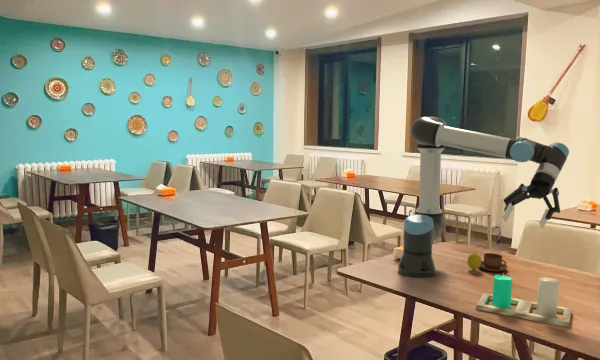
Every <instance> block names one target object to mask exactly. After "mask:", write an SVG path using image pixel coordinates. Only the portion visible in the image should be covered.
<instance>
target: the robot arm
mask: <svg viewBox="0 0 600 360" xmlns="http://www.w3.org/2000/svg"><path fill="white" fill-rule="evenodd" d="M410 135H411V138H412V140H413V141H414V142H416V149H417V150H418V152H420V159H419V160H420V161H419V162H420V163H419V164H420V165H419V191H418V192H419V195H418V196H419V198H418V200H419V201H418V207H417V208H415V212H414V213H415V214H414V215H409V216H406V218H405V219H404V224H403V248H402V255H401V258H400V260H399V262H398V263H399V264H398V266H397V269H398V273H400V275H403V276H406V277H412V278H430V277H431V278H432V277H433V276H435V275H436V266H435V262H434V260H433V259H434V258H433V256H432V255H433V242H434V241H436V240H438V239H439V238H441V237H442V235H443V234H444V232H445V228H446V222H445V219H444V218H443V215H444V214H443V210H442V209H441V208H440V200H441V199H440V196H441V195H440V194H441V192H440V191H441V166H442V165H441V164H442V163H441V160H442V152H443V151H444V150H445V149H446V147H451V148H456V149H461V150H464V151H465V150H466V151H470V152H474V153H475V152H476V153H480V154H485V155H489V156H494V157H499V158H504V159H509V160H513V161H515V162H517V163H526V162H528V161H530V162H533V163H536V164H538V167H537V169H536V171H535V172H534V175H533V177H532V178H531V180H530V183H529V185H525V184H524V183H520V185H519V186H518V187H517V188H516V189H515V190H513V191H512V192H511V193H510V194H509V195H507V196H506V197H505V198H503V202H504V204H505V206H504V209H503V210H504V213H503V214H502V219H503V221H504V222H507V221H508V219H509V218H510V215H511V214H512V212H513V210H514V206H515V205H516V206H517V204H519V203H521V202H523V201H525V200H529V199H538V200H541V199H543V201H544V202H545V205H546V206H547V208H545V211H544V212H543V214H542V216H541V219H540V220H539V222H538V224H539V226H540V229H544V228H545V226H546V223H547V222H548V221H550V220H551V219H552V217H553V214H555V213H556V214H557V213H558V214H560V213H561V208H560V201H559V195H560V191H559V189H558V187H554V185H555V183H556V181H557V179H558V177H559V175H560V173H561V171H562V169H563V167H564V165H565V163H566V161H567V158H568V156H569V154H570V150H569V148H568V146H567V145H565V144H564V143H562V142H551V143H550V144H549V145H546V144H542V143H540V142H538V141H534V140H531V139H529V138H527V137H522V136H517V137H516V138H515V139H514V138H509V137H504V136H499V135H494V134H489V133H483V132H478V131H473V130H468V129H462V128H457V127H452V126H448V124H447V123H446V121H444V120H443V119H442V118H439V117H437V116H422V117H419V118H417V119H416V120H415V121H413V123H412V125H411V127H410ZM550 194H552V199H553V205H554V207H553V205H552V204H551V202H550V199H549V198H548V195H550Z"/></svg>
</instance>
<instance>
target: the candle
mask: <svg viewBox="0 0 600 360" xmlns="http://www.w3.org/2000/svg"><path fill="white" fill-rule="evenodd" d="M492 287H493V288H492V294H493V300H491V301H492V302H491V306H496V307H501V308H506V309H511V298H512V292H513V291H512V290H513V277H510V276H508V275H505V273H504V272H503V273H502V275H501V274H495V275H494V276H493V286H492Z"/></svg>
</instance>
